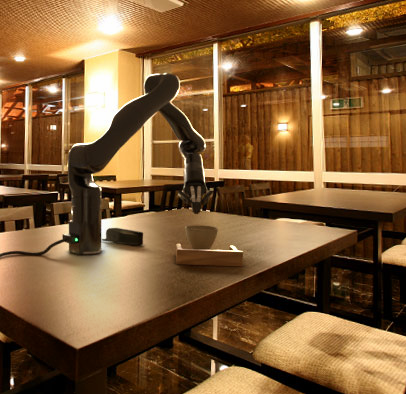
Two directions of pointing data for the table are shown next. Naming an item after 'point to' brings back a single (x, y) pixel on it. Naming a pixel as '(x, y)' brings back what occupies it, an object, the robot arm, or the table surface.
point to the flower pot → (201, 236)
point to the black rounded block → (124, 236)
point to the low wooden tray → (209, 256)
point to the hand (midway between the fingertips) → (196, 212)
